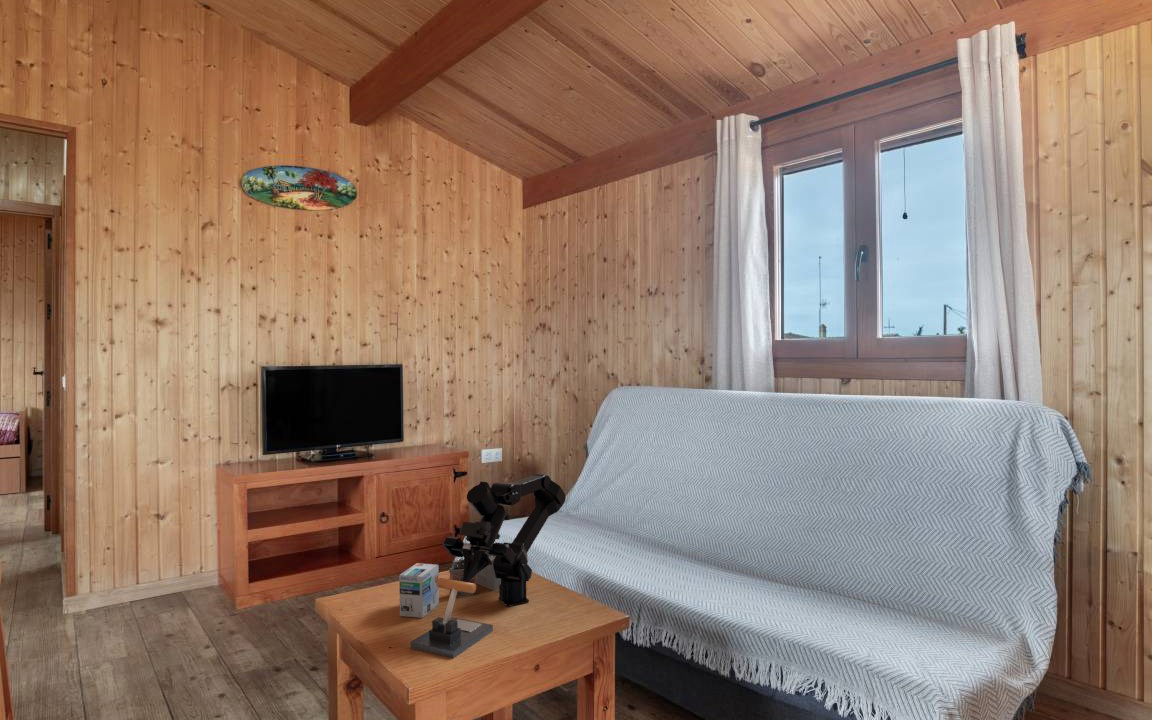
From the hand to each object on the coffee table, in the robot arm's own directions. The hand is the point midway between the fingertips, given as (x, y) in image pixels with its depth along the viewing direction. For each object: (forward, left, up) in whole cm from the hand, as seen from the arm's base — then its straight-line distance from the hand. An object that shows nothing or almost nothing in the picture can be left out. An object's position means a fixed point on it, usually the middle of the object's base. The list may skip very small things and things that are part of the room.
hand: (465, 581), depth 161 cm
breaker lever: (+7, +5, -8) cm, 11 cm away
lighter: (-8, -24, -12) cm, 29 cm away
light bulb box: (+6, -19, -12) cm, 24 cm away
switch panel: (+4, +3, -12) cm, 13 cm away
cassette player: (-16, -30, -12) cm, 37 cm away
